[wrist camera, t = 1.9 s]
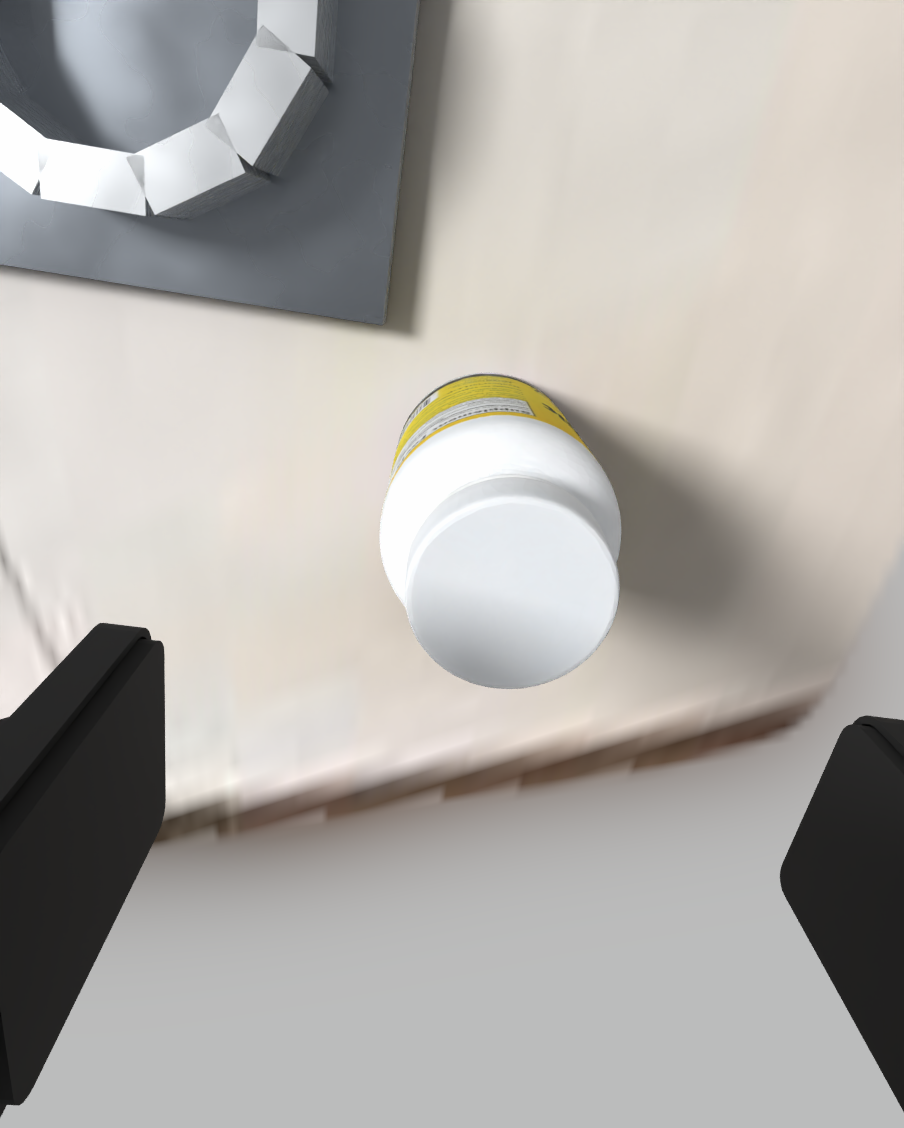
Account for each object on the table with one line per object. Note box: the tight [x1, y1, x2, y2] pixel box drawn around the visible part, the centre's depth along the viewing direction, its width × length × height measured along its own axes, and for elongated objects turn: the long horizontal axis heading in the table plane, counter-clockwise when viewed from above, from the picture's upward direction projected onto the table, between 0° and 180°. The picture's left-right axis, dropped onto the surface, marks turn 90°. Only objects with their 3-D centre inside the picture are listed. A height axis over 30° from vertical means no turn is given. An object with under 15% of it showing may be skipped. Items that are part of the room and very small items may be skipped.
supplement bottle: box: [380, 373, 621, 689], centre depth 17 cm, size 5×5×10 cm
